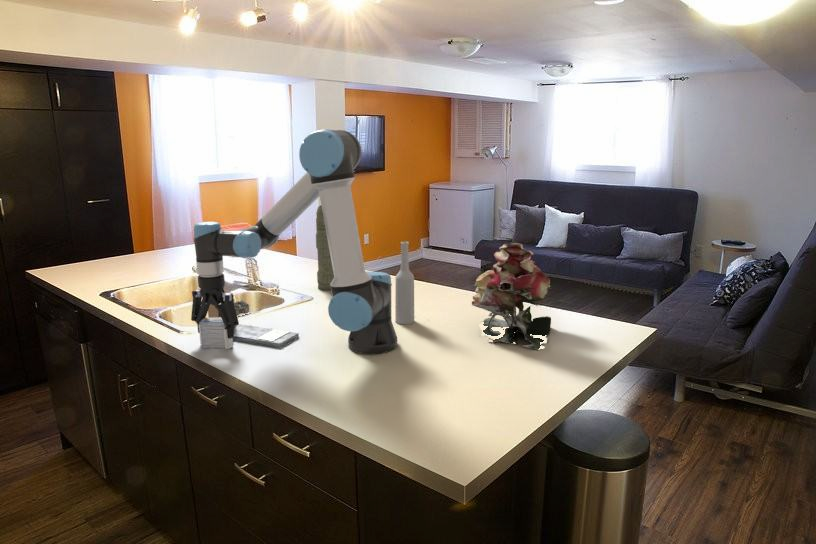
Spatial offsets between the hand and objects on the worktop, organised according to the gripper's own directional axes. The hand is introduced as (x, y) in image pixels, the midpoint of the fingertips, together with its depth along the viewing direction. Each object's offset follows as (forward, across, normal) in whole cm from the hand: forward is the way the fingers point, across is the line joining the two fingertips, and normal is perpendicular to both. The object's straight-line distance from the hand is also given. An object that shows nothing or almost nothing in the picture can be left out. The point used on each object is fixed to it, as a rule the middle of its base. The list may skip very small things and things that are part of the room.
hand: (216, 345), depth 172 cm
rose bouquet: (0, -80, -47) cm, 93 cm away
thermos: (0, +4, -73) cm, 73 cm away
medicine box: (0, 0, 0) cm, 0 cm away
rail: (0, -4, -11) cm, 12 cm away
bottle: (0, -44, -44) cm, 62 cm away
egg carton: (+1, +18, -29) cm, 34 cm away
